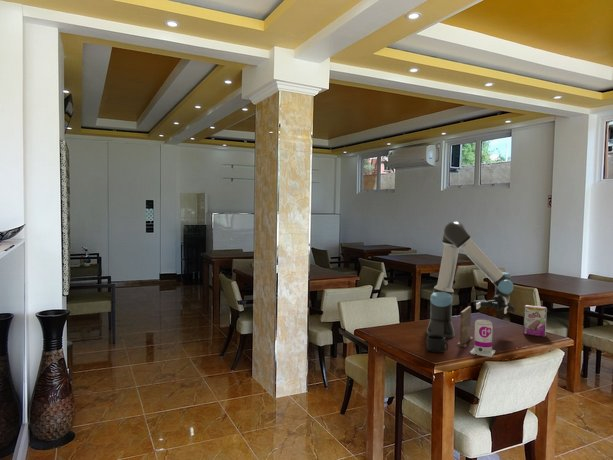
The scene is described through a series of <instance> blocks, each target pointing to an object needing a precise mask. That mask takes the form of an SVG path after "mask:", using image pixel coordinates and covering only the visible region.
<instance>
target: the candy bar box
mask: <svg viewBox="0 0 613 460" xmlns="http://www.w3.org/2000/svg"><path fill="white" fill-rule="evenodd" d="M523 307H524V308H523V309H524V311H523V335H527V336H534V335H535V336H534V337H541V336H542V337H543V338H546V335H547V330H546V329H547V312H548V308H547V307H546V306H539V305H531V304H530V305H529V304H524V306H523ZM542 337H541V338H542Z"/></svg>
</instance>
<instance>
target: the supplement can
mask: <svg viewBox="0 0 613 460" xmlns="http://www.w3.org/2000/svg"><path fill="white" fill-rule="evenodd" d="M473 338H474V339H473V341H474V342H473V343H474V344H473V348H474V349H475V351H477V352H480V353H490V352H491V351H492V350H493V323H492V321H491V320H488V319H476V320H475V322H474V337H473Z"/></svg>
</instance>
